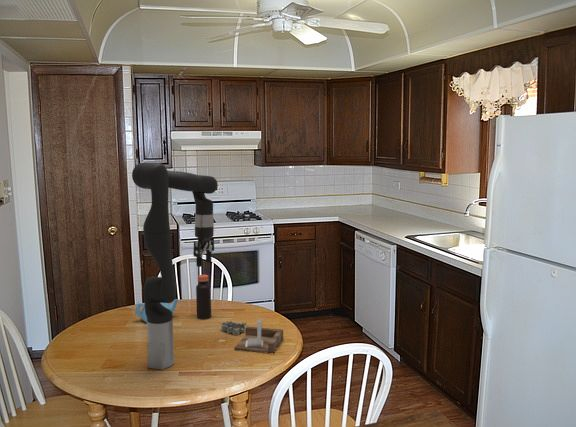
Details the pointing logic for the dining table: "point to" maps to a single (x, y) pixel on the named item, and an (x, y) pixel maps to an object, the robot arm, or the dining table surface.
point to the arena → (269, 340)
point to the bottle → (203, 297)
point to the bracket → (257, 341)
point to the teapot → (171, 307)
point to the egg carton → (229, 327)
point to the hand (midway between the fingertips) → (204, 264)
